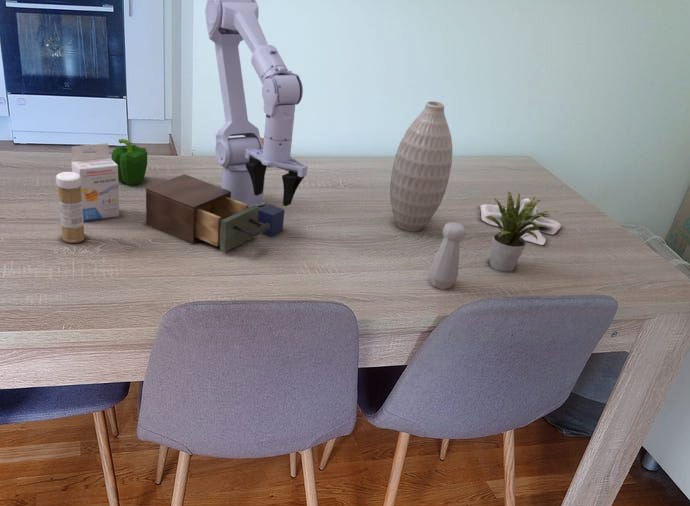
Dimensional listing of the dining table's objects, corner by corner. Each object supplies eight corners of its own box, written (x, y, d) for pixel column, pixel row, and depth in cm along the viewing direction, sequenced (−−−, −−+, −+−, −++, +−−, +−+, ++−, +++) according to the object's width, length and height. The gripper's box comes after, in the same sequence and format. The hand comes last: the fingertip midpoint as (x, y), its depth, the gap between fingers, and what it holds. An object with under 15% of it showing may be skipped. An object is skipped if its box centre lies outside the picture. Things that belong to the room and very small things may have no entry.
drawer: (275, 243, 150) (278, 214, 146) (244, 260, 142) (246, 230, 138) (212, 217, 157) (213, 189, 153) (178, 232, 149) (179, 203, 145)
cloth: (464, 209, 178) (470, 186, 175) (521, 203, 186) (528, 181, 182) (522, 248, 162) (530, 223, 159) (582, 240, 170) (591, 216, 166)
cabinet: (229, 226, 156) (231, 191, 151) (192, 243, 147) (193, 207, 143) (183, 208, 162) (184, 174, 157) (146, 224, 153) (145, 188, 148)
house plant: (523, 291, 145) (548, 217, 135) (460, 269, 150) (480, 196, 141) (542, 267, 155) (566, 197, 146) (482, 247, 160) (502, 178, 151)
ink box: (82, 222, 151) (77, 154, 142) (74, 213, 154) (69, 146, 145) (120, 216, 155) (118, 150, 146) (111, 207, 158) (108, 142, 150)
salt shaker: (423, 276, 146) (437, 217, 138) (450, 277, 146) (465, 219, 139) (430, 290, 141) (445, 230, 134) (458, 291, 142) (474, 232, 134)
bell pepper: (155, 181, 173) (155, 141, 167) (132, 190, 167) (131, 148, 161) (129, 172, 176) (128, 132, 171) (106, 180, 170) (104, 139, 165)
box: (256, 230, 156) (258, 209, 153) (267, 225, 159) (269, 204, 156) (271, 236, 154) (273, 215, 151) (282, 230, 157) (284, 209, 154)
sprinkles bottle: (82, 232, 146) (77, 170, 139) (87, 242, 143) (83, 178, 136) (59, 235, 145) (53, 171, 137) (64, 245, 141) (58, 180, 134)
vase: (442, 223, 169) (471, 103, 153) (428, 242, 160) (457, 116, 143) (392, 210, 173) (415, 91, 157) (375, 228, 163) (398, 103, 147)
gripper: (238, 131, 145) (234, 194, 152) (296, 150, 139) (289, 214, 146) (258, 124, 150) (254, 186, 157) (315, 142, 144) (308, 205, 151)
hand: (272, 199), depth 152 cm, fingers open, 7 cm apart
